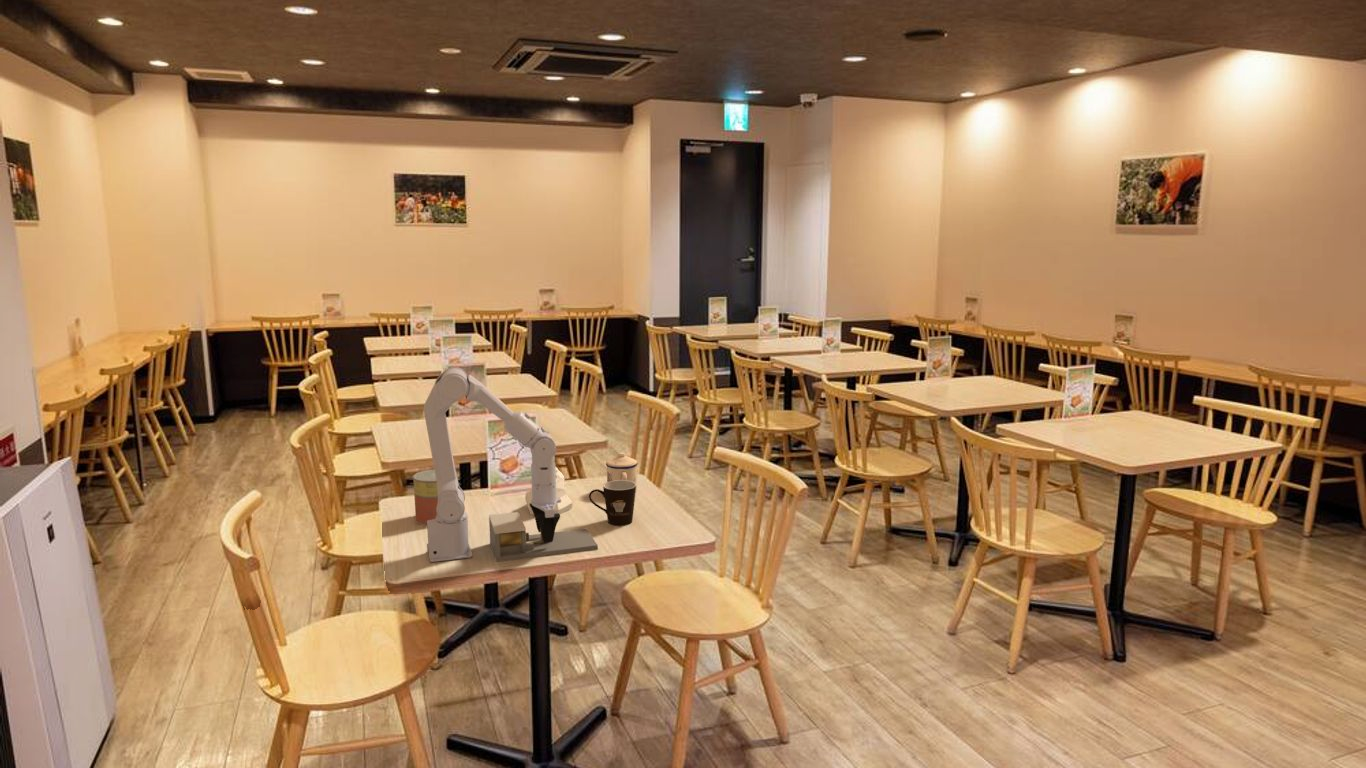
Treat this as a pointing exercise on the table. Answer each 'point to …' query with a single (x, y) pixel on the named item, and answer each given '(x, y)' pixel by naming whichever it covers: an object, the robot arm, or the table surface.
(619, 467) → the teacup with lid
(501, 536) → the yellow block
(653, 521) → the table surface
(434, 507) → the canned food
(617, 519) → the coffee mug
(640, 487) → the table surface
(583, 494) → the table surface
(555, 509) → the cream faceted rock
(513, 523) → the plate
